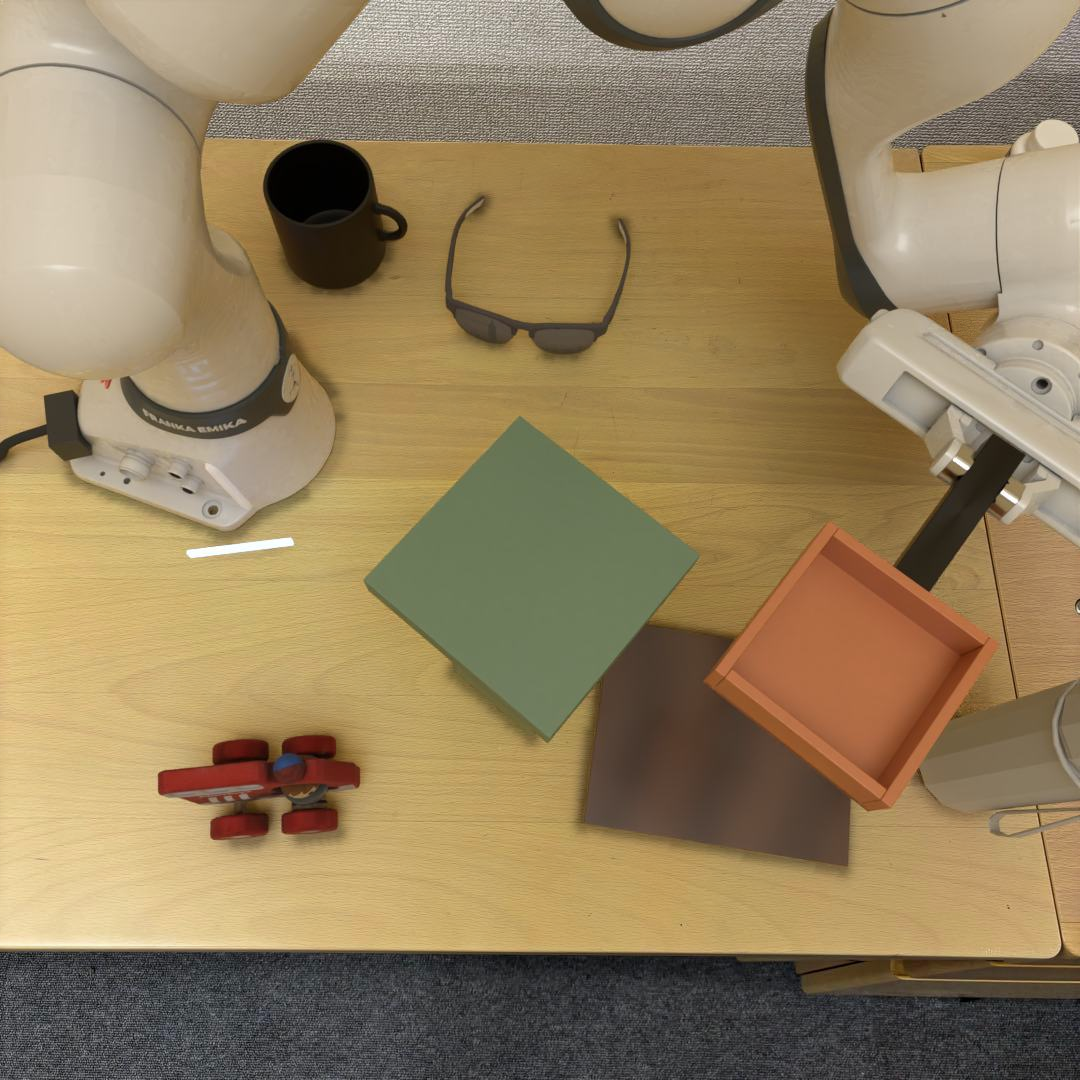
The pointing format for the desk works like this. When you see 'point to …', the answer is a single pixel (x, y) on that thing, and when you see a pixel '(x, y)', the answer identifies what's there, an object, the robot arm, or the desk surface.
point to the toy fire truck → (266, 784)
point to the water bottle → (1011, 758)
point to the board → (702, 761)
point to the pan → (867, 646)
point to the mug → (328, 213)
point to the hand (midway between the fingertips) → (976, 489)
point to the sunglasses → (542, 334)
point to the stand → (531, 577)
